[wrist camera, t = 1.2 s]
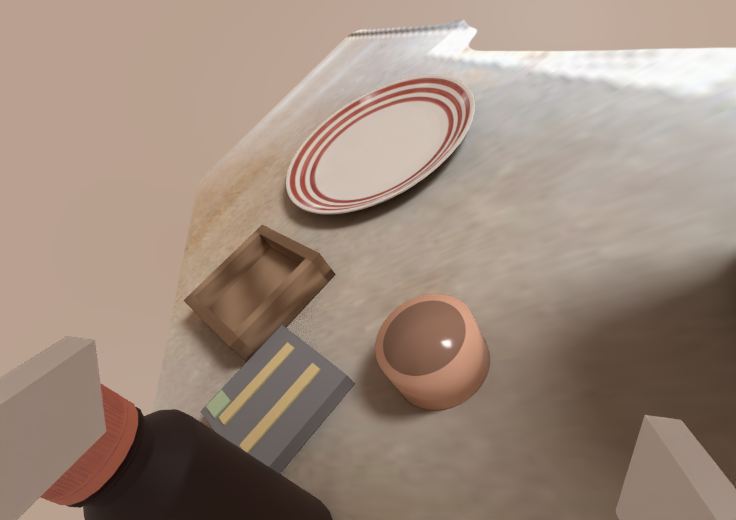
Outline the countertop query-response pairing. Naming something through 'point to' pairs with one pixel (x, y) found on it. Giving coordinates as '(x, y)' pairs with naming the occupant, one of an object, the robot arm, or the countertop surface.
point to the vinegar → (175, 473)
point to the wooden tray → (259, 289)
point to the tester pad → (277, 399)
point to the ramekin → (433, 351)
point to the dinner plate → (380, 144)
